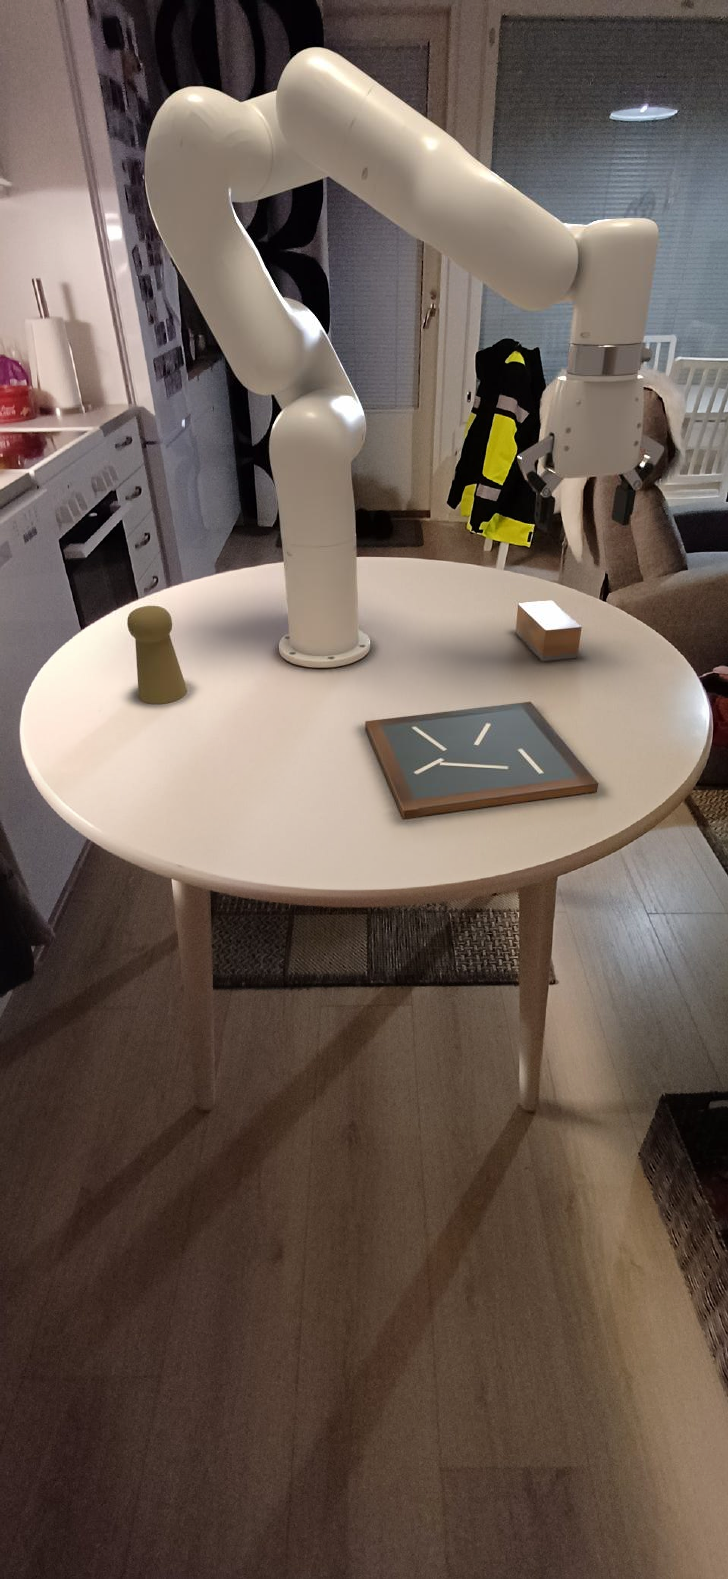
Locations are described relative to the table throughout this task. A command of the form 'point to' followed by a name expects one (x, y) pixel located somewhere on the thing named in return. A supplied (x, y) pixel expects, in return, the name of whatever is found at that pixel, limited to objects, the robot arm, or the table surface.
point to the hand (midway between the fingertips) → (582, 526)
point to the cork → (155, 656)
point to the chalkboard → (475, 759)
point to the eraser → (548, 630)
